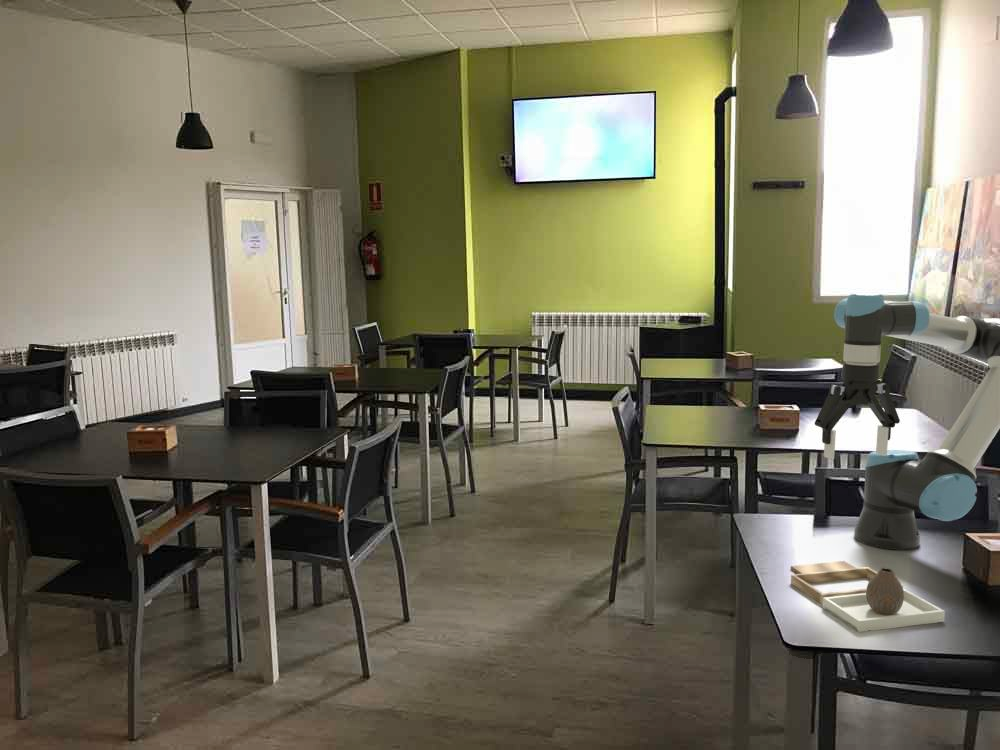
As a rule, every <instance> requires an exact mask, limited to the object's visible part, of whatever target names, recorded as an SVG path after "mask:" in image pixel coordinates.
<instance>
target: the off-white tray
mask: <svg viewBox="0 0 1000 750" xmlns="http://www.w3.org/2000/svg"><path fill="white" fill-rule="evenodd" d="M903 591H904V601H903V604H902V607H901V609H900V610H899V611H898V612H897V613H895V614H893V615H881V614H878V613H876V612H874V611H873V610H872V609H871V608H870V606H869V604H868V602H867V598H866V593H861V594H852V595H843V596H834V597H825V598H823V604H822V609H824V610H825V611H826V612H828V613H830V614H831V615H832V616H834V617H835V618H837V619H838V620H839V621H841V622H843V624H846V625H847V626H849V627H851V628H852V629H854V630H855V631H856V630H857V631H856V632H858V633H860V632H861V633H862V632H869V631H868V630H871V631H877V630H887V629H895V628H904V627H910V626H919V625H927V624H934V623H944V622H945V616H946V615H945V614H946V613H945V612H946V611H945V610H944V609H942V608H940V607H939V606H937V605H934V604H933V603H931V602H929V601H927V600H926V599H924V598H922V597H920V596H918V595H916V594H915V593H913V592H912V591H909V590H908V589H905V588H903Z"/></svg>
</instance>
